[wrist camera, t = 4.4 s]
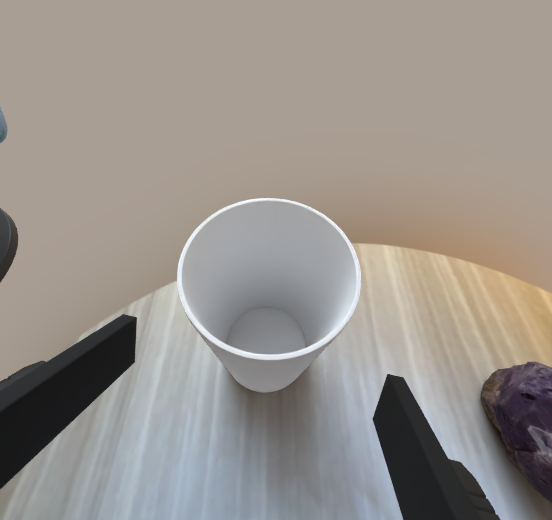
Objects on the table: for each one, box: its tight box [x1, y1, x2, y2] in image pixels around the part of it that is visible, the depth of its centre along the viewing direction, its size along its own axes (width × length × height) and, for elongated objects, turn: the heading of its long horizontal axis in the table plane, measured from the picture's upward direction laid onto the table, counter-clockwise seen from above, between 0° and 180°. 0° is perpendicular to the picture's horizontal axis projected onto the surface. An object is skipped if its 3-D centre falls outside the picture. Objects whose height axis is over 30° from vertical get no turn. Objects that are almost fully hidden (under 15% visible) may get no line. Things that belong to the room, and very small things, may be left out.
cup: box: [177, 198, 361, 393], centre depth 18 cm, size 8×8×16 cm
